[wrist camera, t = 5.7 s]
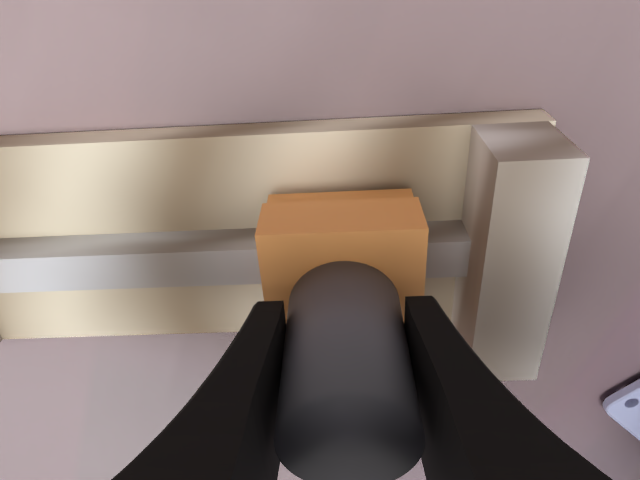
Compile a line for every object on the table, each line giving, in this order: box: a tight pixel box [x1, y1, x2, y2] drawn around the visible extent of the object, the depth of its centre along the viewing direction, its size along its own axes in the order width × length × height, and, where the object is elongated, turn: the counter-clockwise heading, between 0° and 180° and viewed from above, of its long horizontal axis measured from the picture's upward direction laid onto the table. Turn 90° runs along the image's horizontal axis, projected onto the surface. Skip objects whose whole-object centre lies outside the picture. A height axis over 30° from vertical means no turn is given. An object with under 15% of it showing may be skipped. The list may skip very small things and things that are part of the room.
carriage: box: [255, 188, 429, 480], centre depth 12 cm, size 4×4×7 cm
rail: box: [0, 109, 590, 381], centre depth 15 cm, size 20×7×4 cm, turn 93°
